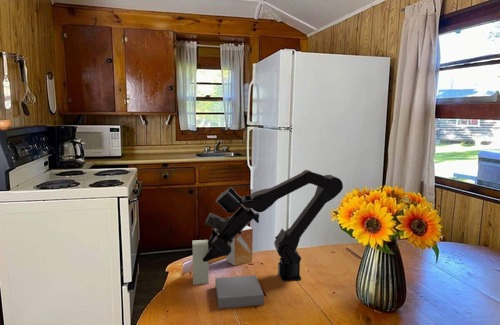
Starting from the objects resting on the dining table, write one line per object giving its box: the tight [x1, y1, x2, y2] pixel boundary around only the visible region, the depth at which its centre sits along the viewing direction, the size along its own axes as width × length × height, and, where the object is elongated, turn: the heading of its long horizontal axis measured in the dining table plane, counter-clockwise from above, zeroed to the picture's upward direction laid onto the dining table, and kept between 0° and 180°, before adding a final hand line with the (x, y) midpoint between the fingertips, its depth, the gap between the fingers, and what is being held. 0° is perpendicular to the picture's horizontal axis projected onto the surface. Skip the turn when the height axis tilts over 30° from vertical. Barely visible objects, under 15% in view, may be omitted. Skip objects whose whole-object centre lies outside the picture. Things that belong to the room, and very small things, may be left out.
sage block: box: [191, 239, 210, 285], centre depth 115 cm, size 5×5×13 cm
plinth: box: [214, 274, 265, 309], centre depth 106 cm, size 13×13×3 cm
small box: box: [225, 225, 254, 266], centre depth 131 cm, size 8×6×13 cm
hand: (203, 255), depth 115 cm, fingers open, 9 cm apart
